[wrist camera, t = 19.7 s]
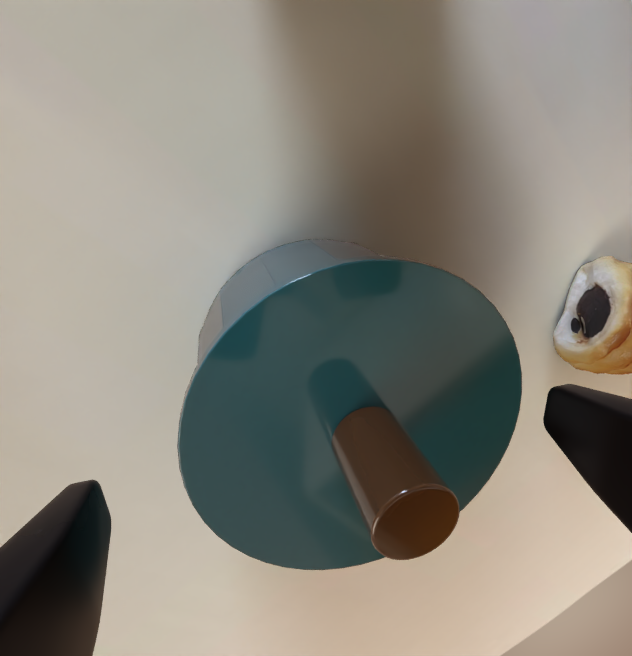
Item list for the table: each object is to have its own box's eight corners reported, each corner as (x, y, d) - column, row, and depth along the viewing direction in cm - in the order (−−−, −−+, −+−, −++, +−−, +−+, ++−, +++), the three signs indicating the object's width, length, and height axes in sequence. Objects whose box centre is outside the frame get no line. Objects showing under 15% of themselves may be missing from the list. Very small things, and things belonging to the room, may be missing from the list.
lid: (396, 166, 13) (507, 165, 8) (547, 410, 18) (666, 495, 13) (94, 428, 13) (31, 570, 9) (326, 588, 19) (366, 729, 14)
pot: (335, 185, 19) (399, 193, 12) (454, 352, 24) (544, 419, 17) (145, 351, 19) (113, 440, 13) (300, 480, 24) (332, 590, 18)
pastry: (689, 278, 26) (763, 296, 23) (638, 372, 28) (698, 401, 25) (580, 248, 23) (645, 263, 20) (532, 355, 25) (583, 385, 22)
